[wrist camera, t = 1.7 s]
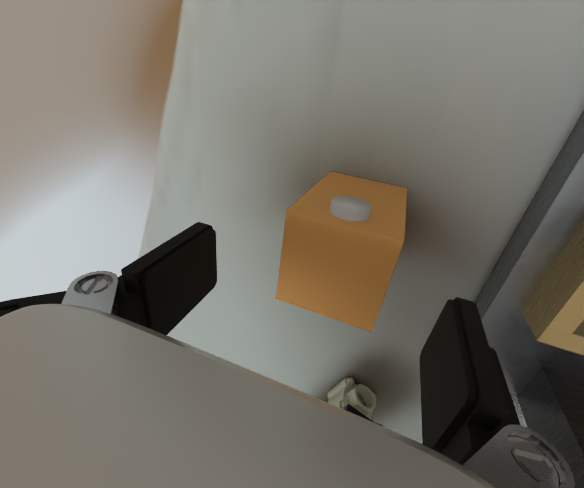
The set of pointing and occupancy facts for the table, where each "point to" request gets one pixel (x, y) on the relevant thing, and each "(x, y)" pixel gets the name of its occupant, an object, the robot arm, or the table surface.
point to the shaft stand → (545, 308)
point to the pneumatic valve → (353, 398)
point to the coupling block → (342, 247)
